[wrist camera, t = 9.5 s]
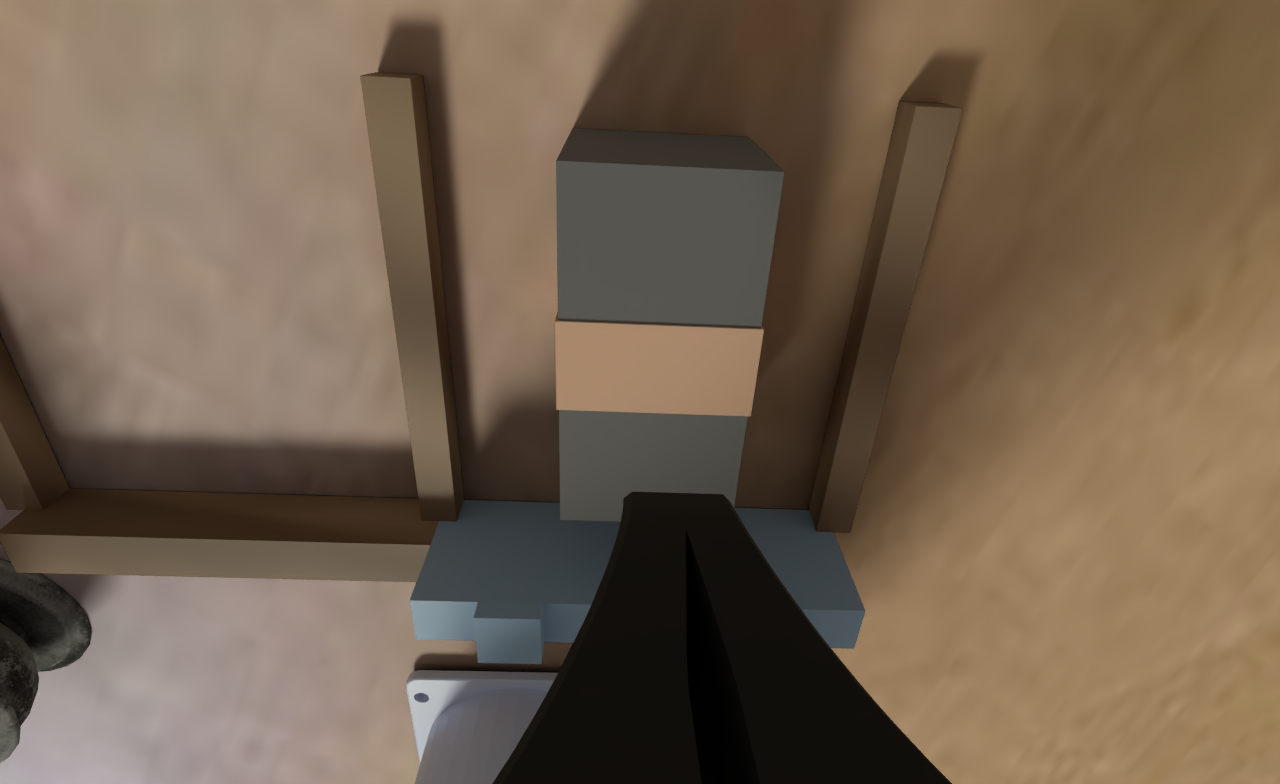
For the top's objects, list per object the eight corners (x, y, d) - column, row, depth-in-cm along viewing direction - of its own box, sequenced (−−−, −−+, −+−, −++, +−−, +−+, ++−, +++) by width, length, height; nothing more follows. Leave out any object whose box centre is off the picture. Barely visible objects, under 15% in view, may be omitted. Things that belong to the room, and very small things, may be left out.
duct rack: (831, 548, 21) (879, 670, 17) (53, 526, 20) (-89, 652, 16) (942, 103, 15) (1059, 134, 11) (-182, 41, 14) (-510, 49, 10)
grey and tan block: (714, 431, 19) (733, 525, 16) (570, 426, 19) (557, 521, 15) (750, 136, 15) (787, 172, 12) (570, 127, 15) (553, 161, 12)
